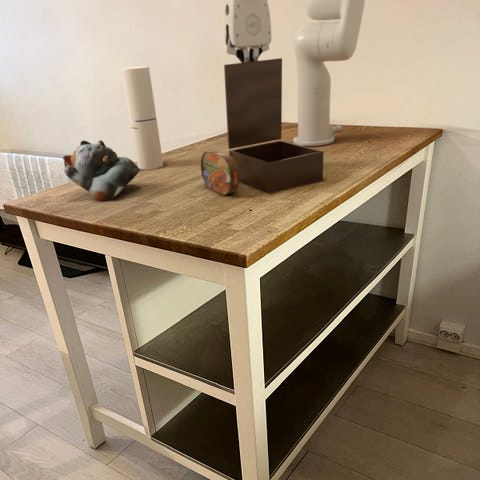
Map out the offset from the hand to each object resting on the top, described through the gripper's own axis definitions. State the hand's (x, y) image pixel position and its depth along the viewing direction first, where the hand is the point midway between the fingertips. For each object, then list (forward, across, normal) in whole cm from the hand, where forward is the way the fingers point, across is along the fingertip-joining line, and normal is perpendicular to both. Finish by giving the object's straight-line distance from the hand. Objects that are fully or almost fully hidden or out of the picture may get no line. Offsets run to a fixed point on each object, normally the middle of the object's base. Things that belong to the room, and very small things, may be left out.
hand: (249, 80), depth 115 cm
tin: (+21, -14, -9) cm, 27 cm away
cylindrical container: (+21, -19, +26) cm, 39 cm away
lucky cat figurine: (+21, -37, +8) cm, 43 cm away
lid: (+5, 0, -2) cm, 5 cm away
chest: (+21, 0, -10) cm, 23 cm away
